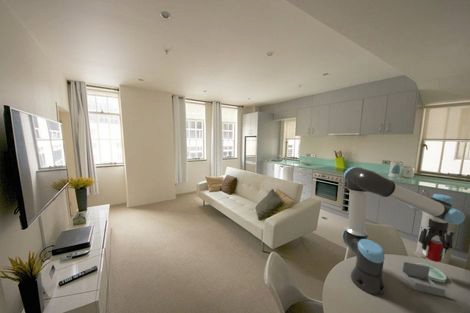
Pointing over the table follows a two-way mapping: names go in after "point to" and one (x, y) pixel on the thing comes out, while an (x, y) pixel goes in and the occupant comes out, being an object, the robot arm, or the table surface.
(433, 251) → the beverage can
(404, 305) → the table surface
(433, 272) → the tray
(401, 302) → the table surface
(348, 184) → the robot arm
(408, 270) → the bay
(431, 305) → the table surface
